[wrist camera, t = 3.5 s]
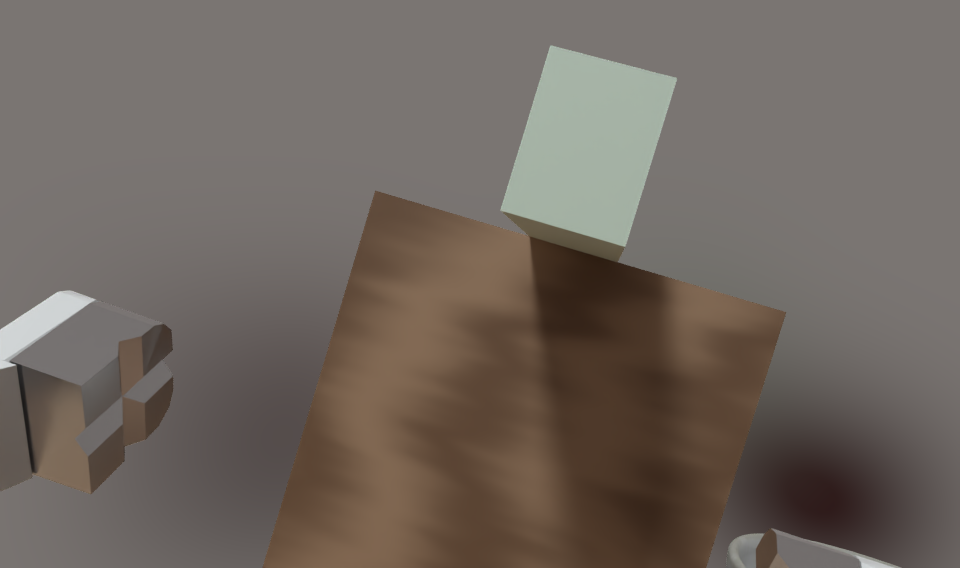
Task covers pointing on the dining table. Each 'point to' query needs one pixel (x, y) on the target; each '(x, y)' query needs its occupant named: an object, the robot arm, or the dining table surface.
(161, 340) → the robot arm
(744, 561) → the decorative bowl
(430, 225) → the wood grain block
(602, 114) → the sage block
